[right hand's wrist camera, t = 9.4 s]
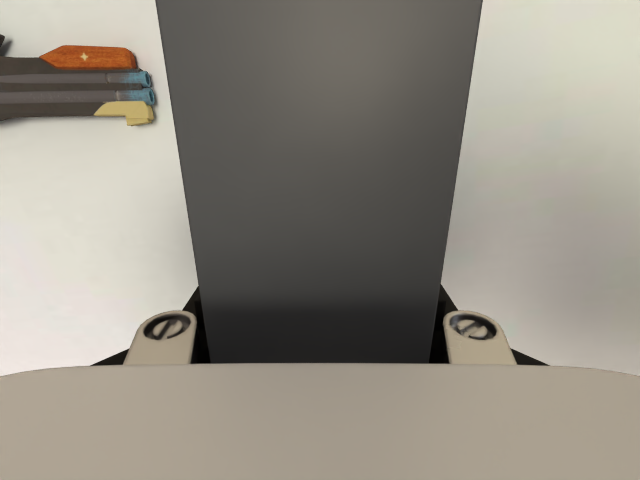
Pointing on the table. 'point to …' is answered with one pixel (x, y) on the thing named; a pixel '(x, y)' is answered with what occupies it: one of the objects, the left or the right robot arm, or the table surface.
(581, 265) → the table surface
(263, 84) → the beam
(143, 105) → the toy gun
